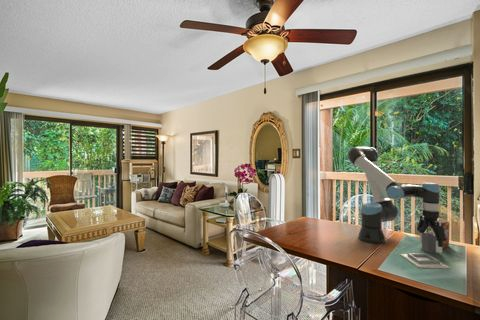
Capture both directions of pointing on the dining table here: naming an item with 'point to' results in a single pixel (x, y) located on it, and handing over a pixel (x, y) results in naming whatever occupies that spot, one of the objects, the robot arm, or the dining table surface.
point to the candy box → (446, 231)
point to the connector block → (429, 242)
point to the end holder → (423, 260)
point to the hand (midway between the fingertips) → (430, 247)
